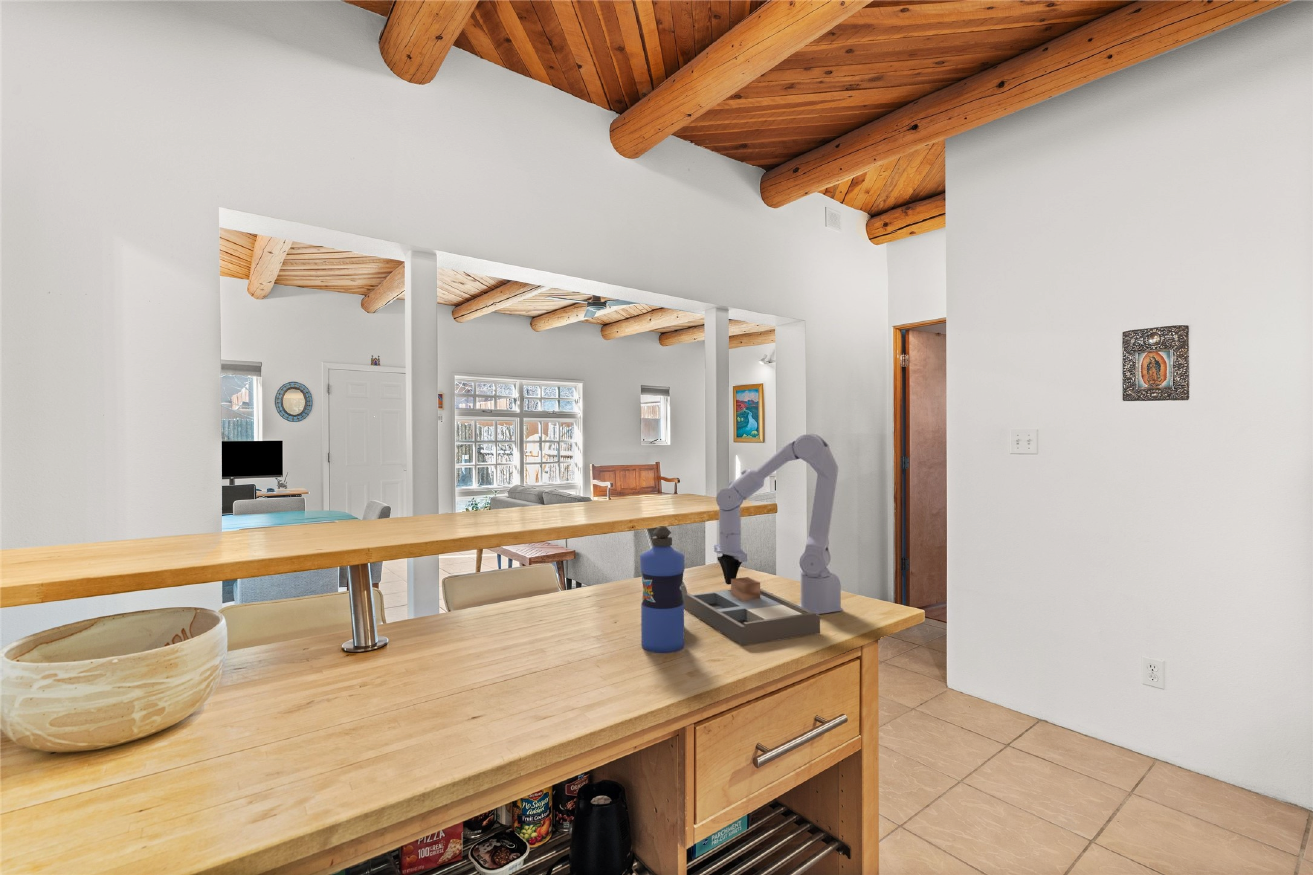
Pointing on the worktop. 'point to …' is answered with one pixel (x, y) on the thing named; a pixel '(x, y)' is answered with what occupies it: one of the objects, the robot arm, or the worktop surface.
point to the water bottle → (662, 595)
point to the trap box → (752, 616)
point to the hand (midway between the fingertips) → (730, 583)
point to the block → (745, 588)
